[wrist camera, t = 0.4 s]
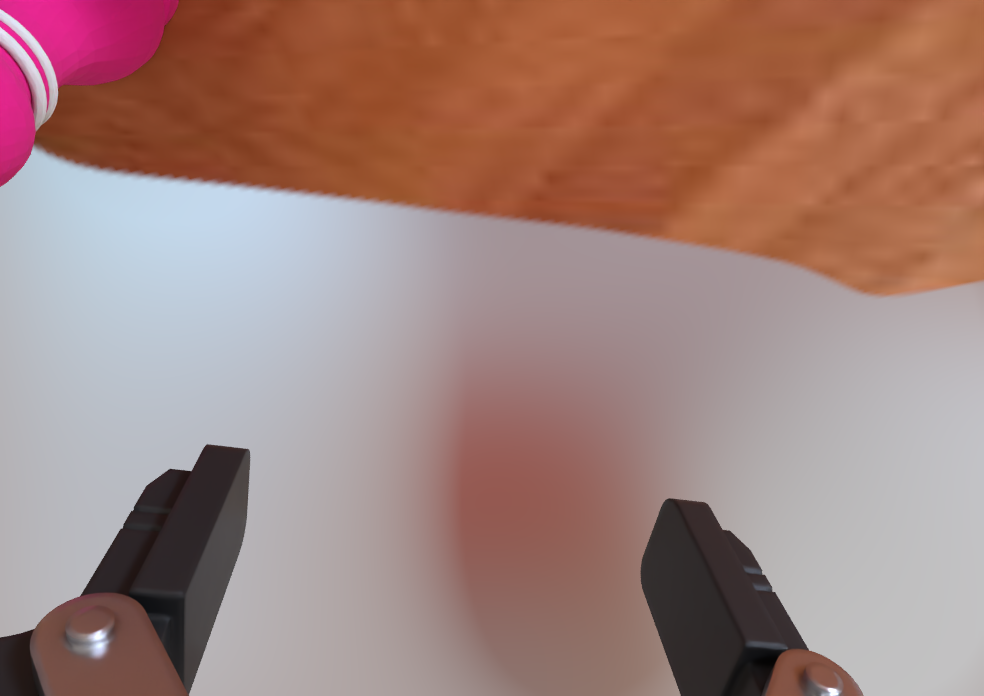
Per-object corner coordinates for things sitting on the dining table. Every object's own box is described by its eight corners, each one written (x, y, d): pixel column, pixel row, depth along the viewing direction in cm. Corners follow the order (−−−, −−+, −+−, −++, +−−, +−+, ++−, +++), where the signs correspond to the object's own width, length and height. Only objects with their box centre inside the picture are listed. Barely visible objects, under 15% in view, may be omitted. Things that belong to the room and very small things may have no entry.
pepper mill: (134, -142, 31) (-175, 4, 17) (219, 21, 36) (37, 245, 21) (-2, -92, 32) (-397, 85, 18) (98, 59, 37) (-150, 295, 23)
